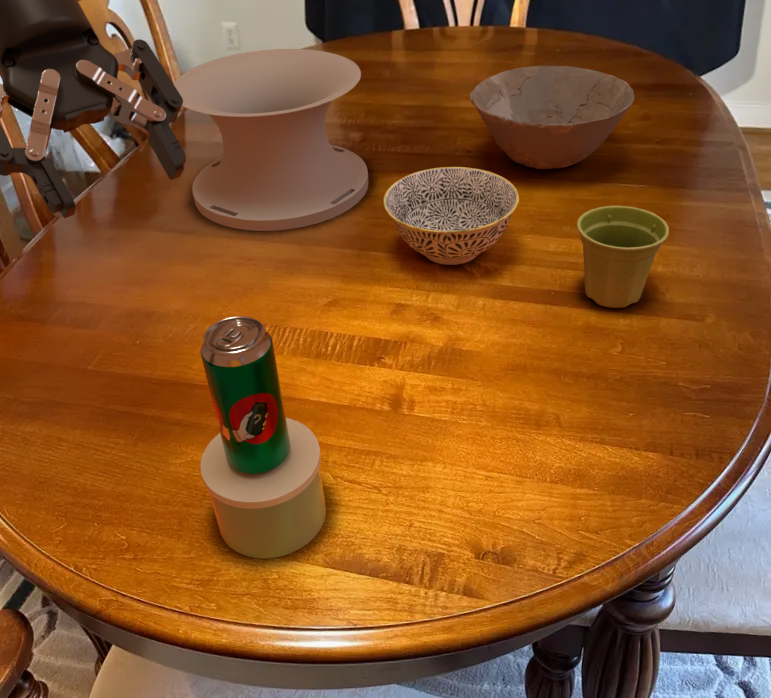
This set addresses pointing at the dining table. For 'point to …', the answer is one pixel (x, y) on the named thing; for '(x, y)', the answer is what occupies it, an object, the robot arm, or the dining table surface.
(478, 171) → the bowl
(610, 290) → the plant pot
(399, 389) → the dining table surface
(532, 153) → the ceramic bowl
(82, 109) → the robot arm
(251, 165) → the vase
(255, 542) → the canister
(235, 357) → the soda can
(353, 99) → the dining table surface
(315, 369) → the dining table surface
